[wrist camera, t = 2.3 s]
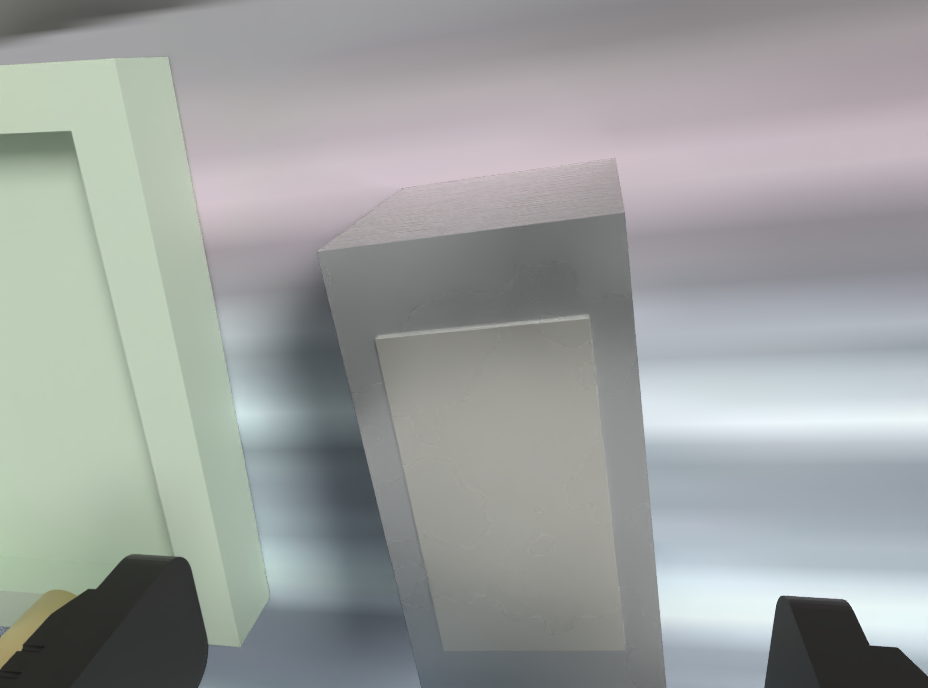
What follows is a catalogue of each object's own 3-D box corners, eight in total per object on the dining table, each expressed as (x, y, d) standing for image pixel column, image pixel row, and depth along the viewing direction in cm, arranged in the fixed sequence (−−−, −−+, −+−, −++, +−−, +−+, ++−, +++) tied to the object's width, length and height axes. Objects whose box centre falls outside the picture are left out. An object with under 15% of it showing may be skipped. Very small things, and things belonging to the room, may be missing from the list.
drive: (615, 157, 17) (624, 213, 11) (648, 527, 20) (668, 713, 14) (403, 187, 18) (314, 253, 12) (469, 534, 21) (424, 709, 16)
